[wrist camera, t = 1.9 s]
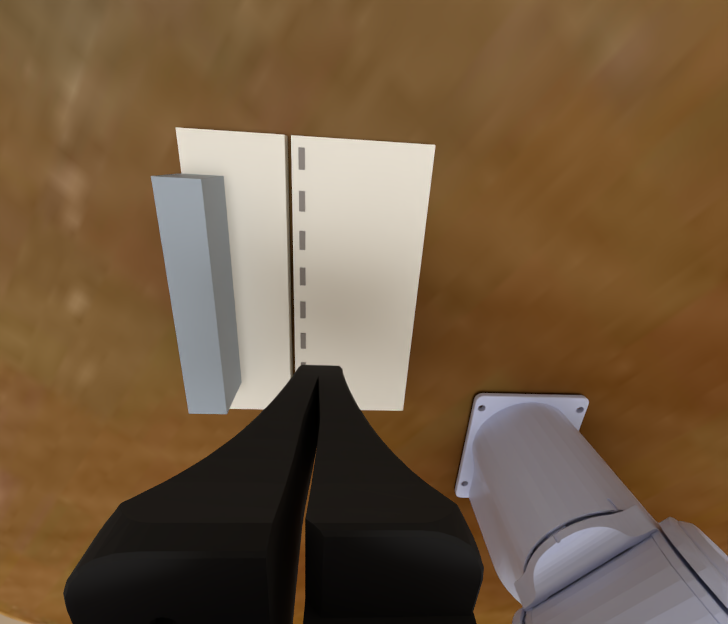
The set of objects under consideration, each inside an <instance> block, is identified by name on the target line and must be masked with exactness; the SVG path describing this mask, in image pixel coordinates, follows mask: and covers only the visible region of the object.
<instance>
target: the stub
mask: <svg viewBox="0 0 728 624" xmlns="http://www.w3.org/2000/svg"><path fill="white" fill-rule="evenodd" d="M176 134H177V142H178V150H179V157H180V165H181V174H170V175H158V176H151V179H152V186H153V192H154V198H155V204H156V211H157V217H158V223H159V229H160V236H161V242H162V248H163V254H164V261H165V267H166V273H167V279H168V286H169V292H170V298H171V304H172V311H173V317H174V323H175V329H176V336H177V342H178V348H179V354H180V361H181V367H182V373H183V379H184V386H185V392H186V398H187V404H188V411H189V413H193V414H227V413H228V411H229V409H265V408H266V407H267V406H268V405H269V404H270V403H271V402H272V401H273V399H274V398H275V397H276V396H277V395H278V394H279V392H280V391H281V390H282V389H283V388H284V386H285V385H286V384H287V383H288V381H289V380H290V379H291V377H292V376H293V366H292V320H291V274H290V227H289V181H288V136H286V135H280V134H265V133H251V132H236V131H221V130H206V129H191V128H176Z"/></svg>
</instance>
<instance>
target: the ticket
mask: <svg viewBox="0 0 728 624" xmlns="http://www.w3.org/2000/svg"><path fill="white" fill-rule="evenodd" d="M434 153H435V145H428V144H413V143H398V142H383V141H368V140H353V139H339V138H324V137H309V136H294V135H291V158H292V213H293V268H294V323H295V372H296V370H297V369H298V367H299V366H301V365H331V366H340V367H341V368H342V369H343V374H344V377H345V380H346V383H347V385H348V387H349V390H350V392H351V394H352V396H353V398H354V399H355V401H356V403H357V405H358V407H359V408H360V410H392V411H403V405H404V397H405V389H406V380H407V372H408V364H409V356H410V348H411V340H412V332H413V323H414V315H415V307H416V299H417V291H418V283H419V275H420V266H421V258H422V250H423V242H424V234H425V226H426V218H427V209H428V201H429V193H430V185H431V177H432V169H433V161H434Z"/></svg>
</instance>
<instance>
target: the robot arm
mask: <svg viewBox="0 0 728 624" xmlns="http://www.w3.org/2000/svg"><path fill="white" fill-rule="evenodd" d="M588 404H589V401H588V399H587V398H586V397H585V396H583V395H550V394H503V393H480V394H478V395H476V396H475V398H474V402H473V407H472V412H471V416H470V421H469V426H468V430H467V435H466V440H465V444H464V449H463V454H462V458H461V463H460V468H459V472H458V477H457V482H456V486H455V493H456V495H457V496H458V497H461V498H469V499H470V502H471V505H472V507H473V510H474V513H475V516H476V518H477V521H478V524H479V527H480V529H481V532H482V535H483V538H484V540H485V543H486V546H487V549H488V551H489V554H490V557H491V560H492V562H493V565H494V568H495V570H496V572H497V575H498V577H499V578H500V580H501V582H502V583H503V585H504V586H505V587H506V589H507V590H508V591H509V592H510V593H511V594H512V596H513V597H514V598H515V599H516V600H517V601H519V602H520V603H521V604H522V606H523V607H522V608H521V609H519V610H518V611H516V613H515V615H514V617H513V621H512V624H728V556H727V555H726V554H725V553H724V552H723V551H722V550H721V549H720V548H719V547H718V546H717V545H716V544H715V543H714V542H713V541H712V540H711V539H709V538H708V537H707V536H706V535H705V534H704V533H703V532H702V531H701V530H700V529H699V528H697V527H696V526H695V525H694V524H691V523H687V522H683V521H677V520H676V519H674V518H672V517H668V518H667V519H665V520H663V521H662V522H660V523H658V522H657V521H656V520H654V519H653V517H652V516H651V515H650V514H649V513H648V512H647V510H646V509H645V508H644V507H643V506H642V505H641V503H640V502H639V501H638V500H637V499H636V498H635V496H634V495H633V494H632V493H631V492H630V491H629V489H628V488H627V487H626V486H625V485H624V484H623V482H622V481H621V480H620V479H619V478H618V477H617V475H616V474H615V473H614V472H613V471H612V469H611V468H610V467H609V466H608V465H607V464H606V462H605V461H604V460H603V459H602V458H601V457H600V455H599V454H598V453H597V452H596V451H595V450H594V448H593V447H592V446H591V445H590V444H589V443H588V441H587V440H586V439H585V438H584V437H583V436H582V434H581V433H580V432H579V429H580V426H581V423H582V421H583V418H584V415H585V412H586V410H587V407H588ZM480 405H483V406H482V407H481V408H478V407H479V406H480ZM579 407H580V408H579ZM577 408H579V409H577ZM316 448H317V450H316ZM315 454H316V458H315ZM314 459H315V465H314V471H313V478H312V485H311V490H310V496H309V502H308V508H307V513H306V518H305V609H304V620H303V624H476V620H475V617H474V613H473V610H474V607H475V604H476V600H477V597H478V594H479V590H480V587H481V584H482V580H483V571H484V567H483V564H482V561H481V556H480V553H479V550H478V547H477V545H476V542H475V540H474V538H473V535H472V533H471V531H470V529H469V527H468V525H467V523H466V521H465V519H464V517H463V515H462V513H461V511H460V509H459V507H458V506H457V504H455V503H454V502H453V501H451V500H450V499H448V498H447V497H445V496H444V495H443V494H441V493H440V492H438V491H437V490H436V489H434V488H433V487H431V486H430V485H428V484H427V483H426V482H425V481H423V480H422V479H421V478H420V477H419V476H417V475H416V474H415V473H414V472H412V471H411V470H410V469H409V468H408V467H407V466H406V465H405V464H404V463H403V462H402V461H401V460H400V459H399V458H398V457H397V456H396V455H395V454H394V453H393V452H392V451H391V450H390V449H389V448H388V447H387V445H386V444H385V443H384V442H383V441H382V440H381V438H380V437H379V436H378V435H377V433H376V432H375V431H374V429H373V428H372V427H371V425H370V424H369V422H368V421H367V419H366V418H365V416H364V415H363V413H362V412H361V410H360V408H359V407H358V405H357V403H356V401H355V399H354V398H353V396H352V394H351V392H350V390H349V387H348V385H347V383H346V380H345V377H344V374H343V369H342V368H341V367H340V366H331V365H301V366H299V367H298V369H297V370H296V372H295V373H294V375H293V376H292V377H291V379H290V380H289V381H288V383H287V384H286V385H285V386H284V388H283V389H282V390H281V391H280V392H279V394H278V395H277V396H276V397H275V398H274V399H273V401H272V402H271V403H270V404H269V405H268V406H267V407H266V408H265V409H264V410H263V411H262V412H261V413H260V414H259V415H258V416H257V417H256V418H255V419H254V420H253V421H252V422H251V423H250V424H249V425H248V426H246V427H245V428H244V429H243V430H242V431H241V432H239V433H238V434H237V435H236V436H235V437H233V438H232V439H231V440H230V441H228V442H227V443H226V444H224V445H223V446H221V447H220V448H219V449H217V450H216V451H214V452H213V453H212V454H210V455H209V456H207V457H206V458H204V459H203V460H201V461H199V462H198V463H196V464H195V465H193V466H191V467H190V468H188V469H186V470H185V471H183V472H181V473H179V474H178V475H176V476H174V477H172V478H171V479H169V480H167V481H165V482H163V483H161V484H159V485H157V486H155V487H153V488H151V489H149V490H147V491H145V492H143V493H141V494H139V495H137V496H135V497H133V498H131V499H129V500H127V501H124V502H122V503H121V504H120V505H119V506H118V508H117V509H116V510H115V512H114V513H113V514H112V515H111V517H110V518H109V519H108V520H107V522H106V523H105V524H104V526H103V527H102V528H101V530H100V531H99V533H98V534H97V536H96V537H95V538H94V540H93V542H92V543H91V545H90V546H89V548H88V549H87V551H86V552H85V554H84V555H83V557H82V558H81V560H80V561H79V563H78V564H77V566H76V567H75V569H74V570H73V572H72V573H71V575H70V576H69V578H68V579H67V582H66V585H65V589H64V592H63V594H64V599H65V604H66V608H67V612H68V614H69V616H70V619H71V621H72V623H73V624H293V615H294V604H295V593H296V583H297V573H298V562H299V552H300V543H301V533H302V524H303V517H304V510H305V505H306V500H307V495H308V490H309V485H310V479H311V474H312V469H313V464H314ZM463 481H465V482H463Z"/></svg>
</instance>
